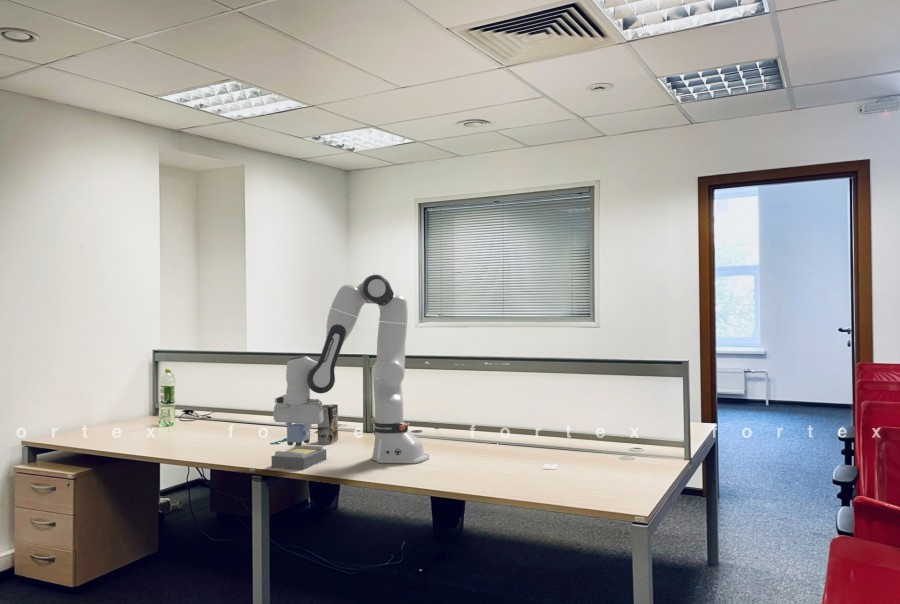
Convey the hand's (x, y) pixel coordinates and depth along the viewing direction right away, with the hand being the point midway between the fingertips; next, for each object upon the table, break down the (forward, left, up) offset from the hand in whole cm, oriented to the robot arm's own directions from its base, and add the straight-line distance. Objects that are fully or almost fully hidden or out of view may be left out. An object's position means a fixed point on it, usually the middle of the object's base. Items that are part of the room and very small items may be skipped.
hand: (298, 434), depth 254 cm
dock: (0, 0, -11) cm, 11 cm away
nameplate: (+30, -47, -11) cm, 57 cm away
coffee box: (+10, -39, -11) cm, 42 cm away
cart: (0, 0, -4) cm, 4 cm away
